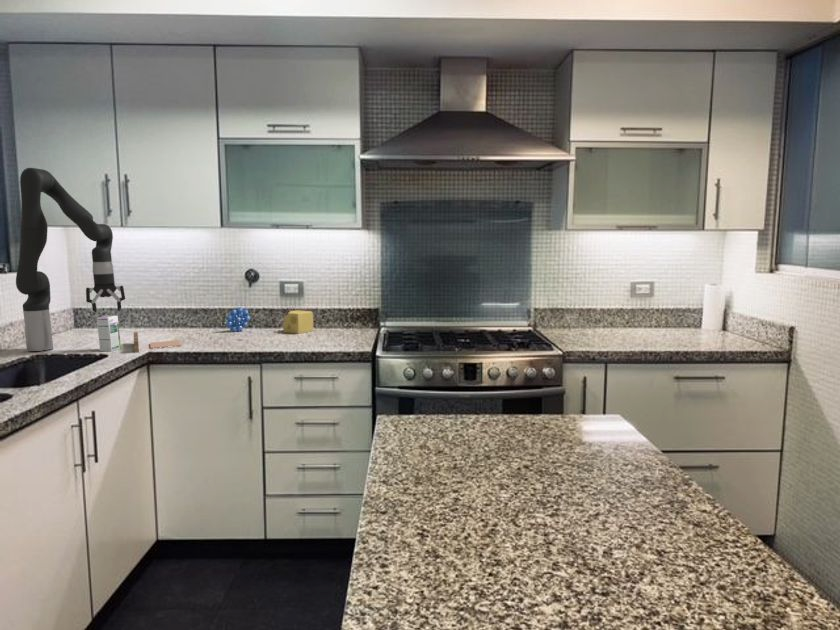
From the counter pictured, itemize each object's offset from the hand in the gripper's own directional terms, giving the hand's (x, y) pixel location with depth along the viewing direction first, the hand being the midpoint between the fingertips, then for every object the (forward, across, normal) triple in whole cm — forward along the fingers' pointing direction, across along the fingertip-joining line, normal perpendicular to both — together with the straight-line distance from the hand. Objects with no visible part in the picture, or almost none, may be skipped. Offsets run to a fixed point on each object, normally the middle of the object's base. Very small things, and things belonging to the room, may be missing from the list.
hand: (107, 311), depth 245 cm
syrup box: (+17, 0, 0) cm, 17 cm away
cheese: (+18, -82, -6) cm, 84 cm away
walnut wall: (+17, -10, 0) cm, 19 cm away
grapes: (+17, -56, -21) cm, 62 cm away
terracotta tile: (+17, -21, 0) cm, 27 cm away
